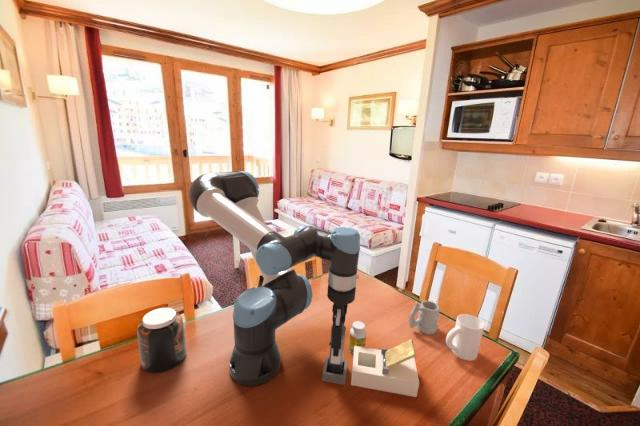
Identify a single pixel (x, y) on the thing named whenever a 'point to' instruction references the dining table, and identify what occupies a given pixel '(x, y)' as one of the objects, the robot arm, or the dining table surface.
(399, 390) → the socket block
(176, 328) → the jar
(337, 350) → the robot arm
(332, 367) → the steel pin
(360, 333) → the supplement bottle
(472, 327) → the mug
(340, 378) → the stand collar
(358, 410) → the dining table surface
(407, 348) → the brass flap
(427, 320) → the mug
